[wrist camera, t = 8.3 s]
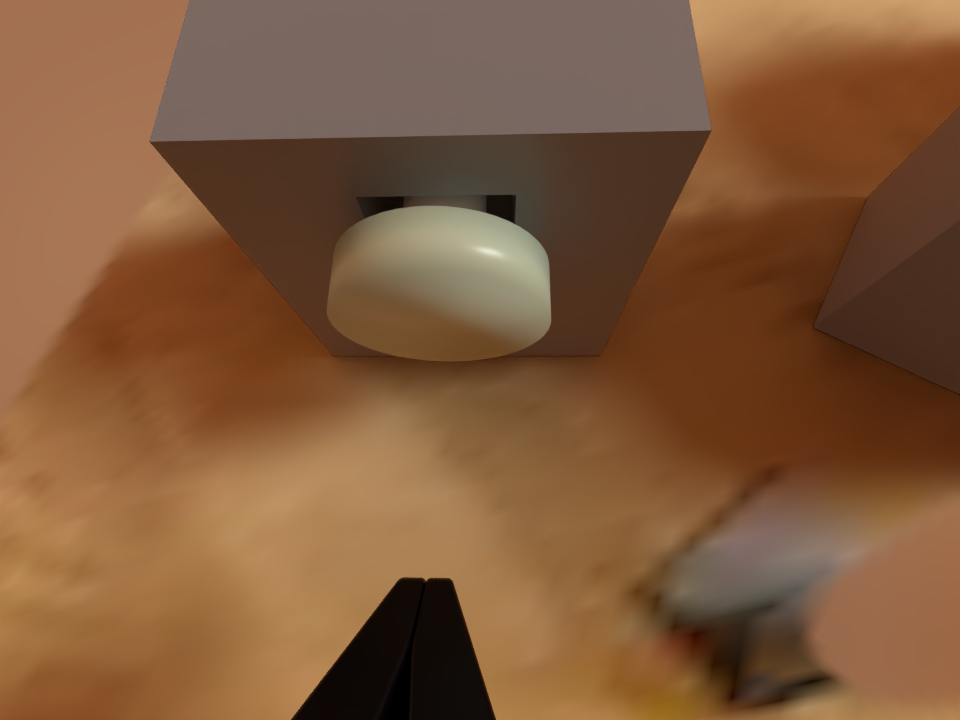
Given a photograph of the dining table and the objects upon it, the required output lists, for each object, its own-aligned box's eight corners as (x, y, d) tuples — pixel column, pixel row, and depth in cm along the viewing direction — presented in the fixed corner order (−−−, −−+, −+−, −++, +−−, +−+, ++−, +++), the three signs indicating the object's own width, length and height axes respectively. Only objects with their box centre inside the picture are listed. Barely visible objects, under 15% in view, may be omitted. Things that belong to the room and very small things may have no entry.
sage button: (542, 361, 13) (562, 267, 8) (359, 361, 13) (290, 269, 9) (536, 154, 15) (550, -3, 10) (379, 157, 15) (331, 4, 11)
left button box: (599, 355, 18) (711, 130, 8) (333, 356, 18) (149, 141, 9) (589, 204, 20) (668, -113, 10) (350, 208, 20) (216, -96, 11)
